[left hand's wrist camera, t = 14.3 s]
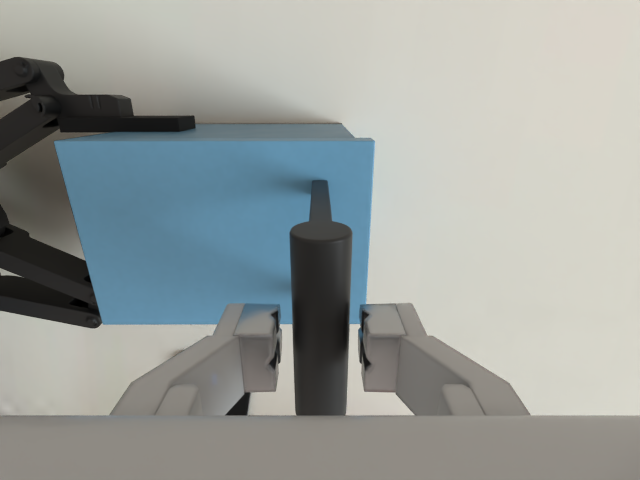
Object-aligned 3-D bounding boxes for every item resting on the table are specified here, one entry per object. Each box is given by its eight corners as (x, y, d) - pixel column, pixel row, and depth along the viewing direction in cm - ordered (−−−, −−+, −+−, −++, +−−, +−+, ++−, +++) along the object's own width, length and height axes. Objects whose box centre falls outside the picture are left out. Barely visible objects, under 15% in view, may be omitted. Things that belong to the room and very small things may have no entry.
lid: (371, 137, 16) (427, 176, 8) (362, 311, 19) (394, 466, 11) (71, 138, 16) (-192, 177, 8) (114, 311, 19) (-36, 468, 11)
